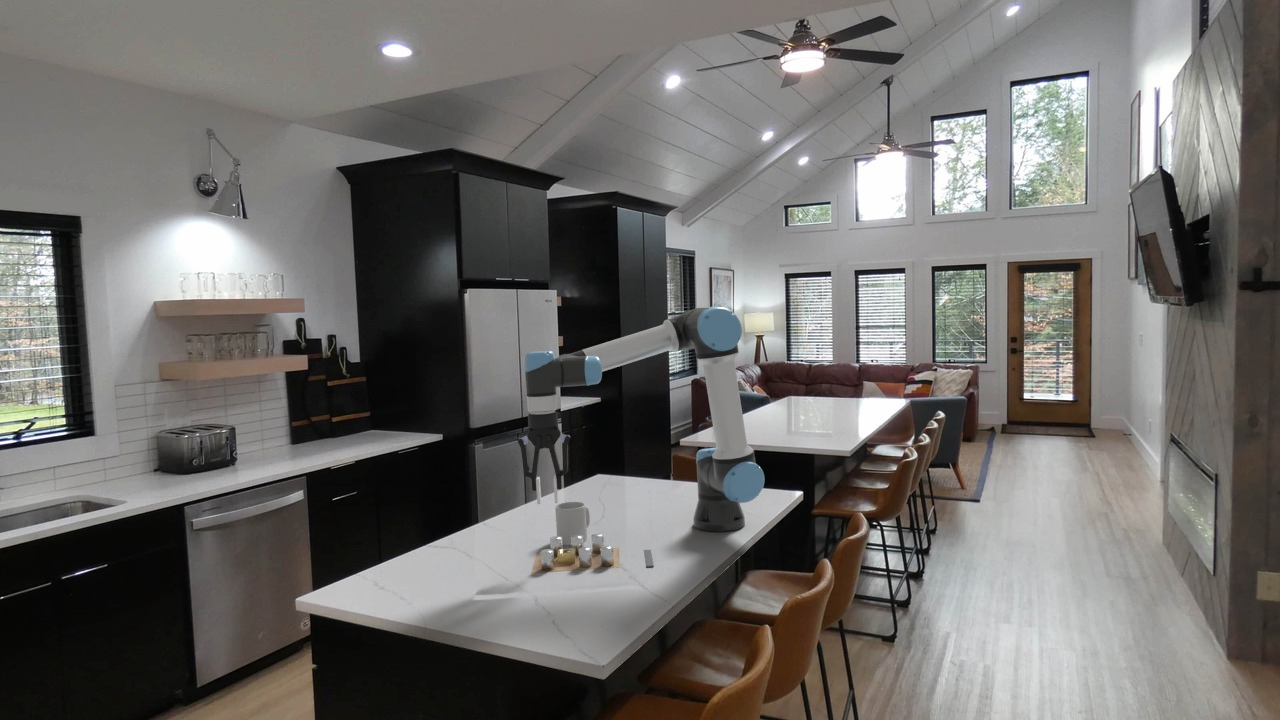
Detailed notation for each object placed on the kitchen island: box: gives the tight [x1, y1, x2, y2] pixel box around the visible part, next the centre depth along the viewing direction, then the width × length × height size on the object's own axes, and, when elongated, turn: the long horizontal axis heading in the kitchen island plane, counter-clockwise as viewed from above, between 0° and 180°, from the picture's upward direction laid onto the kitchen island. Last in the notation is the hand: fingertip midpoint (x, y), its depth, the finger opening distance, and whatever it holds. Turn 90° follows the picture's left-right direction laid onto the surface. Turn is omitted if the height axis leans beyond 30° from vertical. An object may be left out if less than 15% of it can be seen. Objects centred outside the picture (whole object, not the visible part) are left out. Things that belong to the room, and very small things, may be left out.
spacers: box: [540, 533, 614, 571], centre depth 195 cm, size 18×14×4 cm
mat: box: [643, 549, 655, 568], centre depth 195 cm, size 8×13×1 cm, turn 2°
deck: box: [530, 547, 621, 574], centre depth 195 cm, size 22×16×1 cm
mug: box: [555, 501, 591, 546], centre depth 213 cm, size 12×8×11 cm
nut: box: [557, 548, 576, 564], centre depth 194 cm, size 4×4×3 cm
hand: (548, 502), depth 193 cm, fingers open, 4 cm apart
